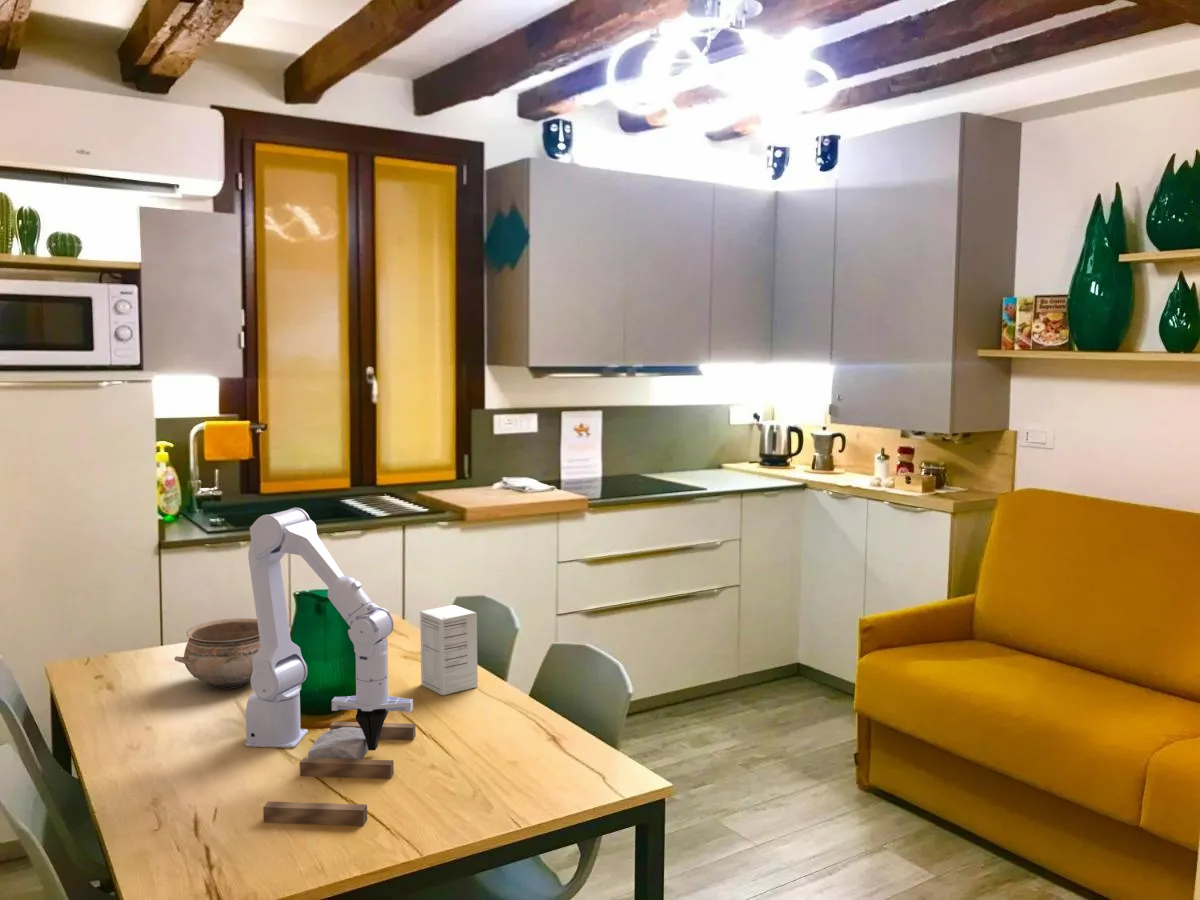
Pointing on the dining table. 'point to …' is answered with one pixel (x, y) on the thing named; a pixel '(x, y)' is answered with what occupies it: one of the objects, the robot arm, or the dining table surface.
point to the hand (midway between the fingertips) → (373, 748)
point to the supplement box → (448, 649)
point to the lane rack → (338, 768)
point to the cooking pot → (222, 652)
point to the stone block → (340, 744)
